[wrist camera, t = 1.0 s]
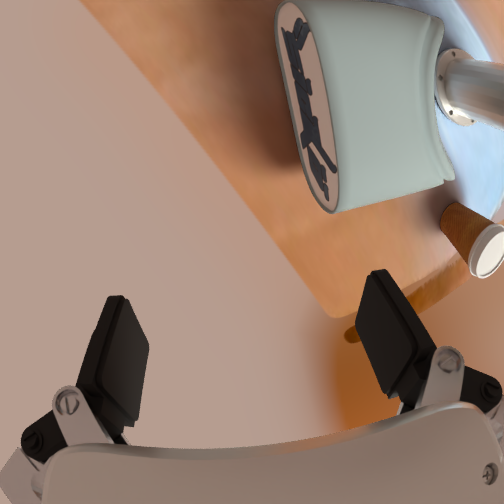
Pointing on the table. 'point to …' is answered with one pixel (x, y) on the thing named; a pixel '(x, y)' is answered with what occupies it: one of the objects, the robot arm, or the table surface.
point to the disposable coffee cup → (474, 238)
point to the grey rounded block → (362, 98)
